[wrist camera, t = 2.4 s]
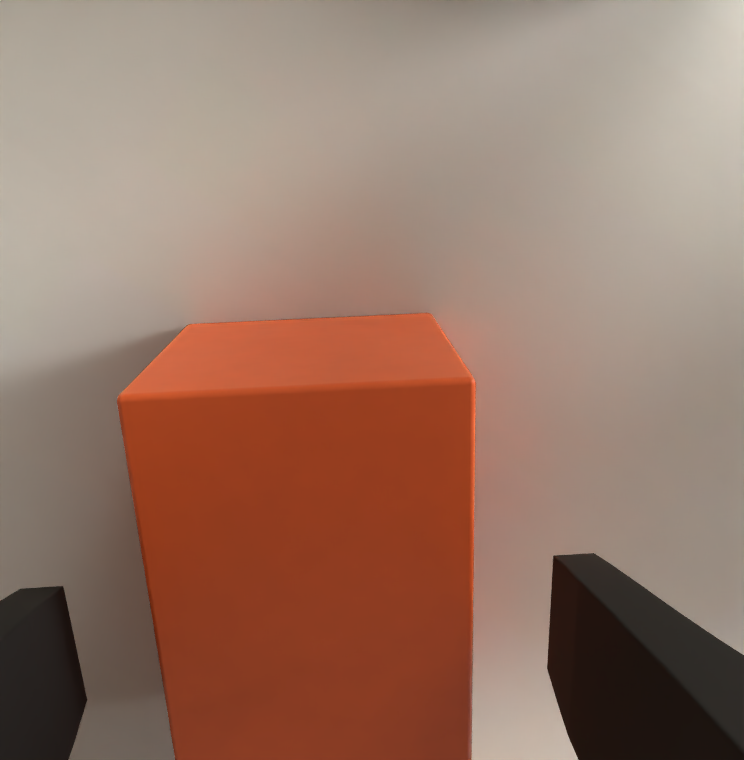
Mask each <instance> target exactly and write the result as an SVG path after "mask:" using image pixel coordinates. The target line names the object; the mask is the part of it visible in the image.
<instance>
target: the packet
mask: <svg viewBox="0 0 744 760" xmlns="http://www.w3.org/2000/svg"><path fill="white" fill-rule="evenodd" d="M475 404H476V382H475V380H474V377H473V376H472V374H471V373H470V371H469V370H468V368H467V367H466V365H465V364H464V362H463V361H462V359H461V358H460V356H459V355H458V353H457V352H456V350H455V349H454V347H453V346H452V344H451V343H450V341H449V340H448V338H447V337H446V335H445V334H444V332H443V331H442V329H441V328H440V326H439V325H438V323H437V322H436V320H435V319H434V317H433V316H432V314H430V313H417V314H396V315H374V316H353V317H332V318H310V319H289V320H267V321H246V322H224V323H203V324H189V325H187V326H186V327H185V328H184V329H183V330H182V331H181V332H180V333H179V334H178V335H177V336H176V337H175V338H174V339H173V340H172V341H171V342H170V343H169V344H168V345H167V346H166V347H165V348H164V349H163V350H162V351H161V352H160V353H159V354H158V355H157V356H156V357H155V359H154V360H153V361H152V362H151V363H150V364H149V365H148V366H147V367H146V368H145V369H144V370H143V371H142V372H141V373H140V374H139V375H138V376H137V377H136V378H135V379H134V380H133V381H132V382H131V383H130V384H129V385H128V386H127V387H126V388H125V389H124V390H123V391H122V392H121V393H120V394H119V395H118V398H117V405H118V411H119V418H120V424H121V430H122V436H123V442H124V448H125V454H126V461H127V467H128V473H129V479H130V485H131V491H132V497H133V504H134V510H135V516H136V522H137V528H138V534H139V540H140V546H141V553H142V559H143V565H144V571H145V577H146V583H147V589H148V596H149V602H150V608H151V614H152V620H153V626H154V632H155V639H156V645H157V651H158V657H159V663H160V669H161V675H162V682H163V688H164V694H165V700H166V706H167V712H168V718H169V724H170V731H171V737H172V743H173V749H174V755H175V760H471V755H472V667H473V579H474V491H475Z"/></svg>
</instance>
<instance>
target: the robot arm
mask: <svg viewBox="0 0 744 760" xmlns="http://www.w3.org/2000/svg"><path fill="white" fill-rule="evenodd" d="M547 669H548V673H549V676H550V679H551V683H552V686H553V689H554V692H555V696H556V699H557V702H558V706H559V709H560V712H561V715H562V718H563V721H564V724H565V727H566V730H567V733H568V736H569V739H570V741H571V743H572V746H573V748H574V750H575V752H576V755H577V757H578V759H579V760H744V655H742V654H741V653H739V652H738V651H736V650H735V649H733V648H732V647H730V646H728V645H727V644H725V643H724V642H722V641H721V640H719V639H718V638H716V637H715V636H713V635H712V634H710V633H709V632H707V631H706V630H704V629H703V628H701V627H700V626H698V625H697V624H695V623H694V622H692V621H691V620H690V619H688V618H687V617H685V616H684V615H682V614H681V613H679V612H678V611H677V610H675V609H674V608H672V607H671V606H669V605H668V604H666V603H665V602H664V601H662V600H661V599H659V598H658V597H657V596H655V595H654V594H652V593H651V592H650V591H648V590H647V589H645V588H644V587H642V586H641V585H640V584H638V583H637V582H635V581H634V580H633V579H631V578H630V577H628V576H627V575H626V574H624V573H623V572H621V571H620V570H618V569H617V568H616V567H614V566H613V565H611V564H610V563H608V562H607V561H605V560H604V559H602V558H601V557H599V556H597V555H596V554H594V553H589V554H573V555H557V556H553V573H552V591H551V609H550V628H549V646H548V665H547ZM86 702H87V697H86V692H85V687H84V683H83V678H82V673H81V668H80V663H79V659H78V654H77V649H76V644H75V640H74V635H73V630H72V625H71V620H70V616H69V611H68V606H67V601H66V597H65V592H64V587H63V586H56V587H40V588H24V589H19V590H18V591H16V592H14V593H13V594H11V595H9V596H8V597H6V598H4V599H3V600H1V601H0V760H68V759H69V756H70V753H71V750H72V748H73V745H74V742H75V739H76V735H77V732H78V729H79V725H80V722H81V719H82V715H83V712H84V709H85V706H86Z"/></svg>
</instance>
